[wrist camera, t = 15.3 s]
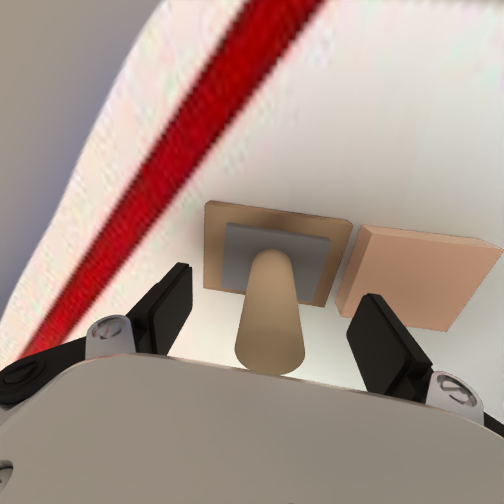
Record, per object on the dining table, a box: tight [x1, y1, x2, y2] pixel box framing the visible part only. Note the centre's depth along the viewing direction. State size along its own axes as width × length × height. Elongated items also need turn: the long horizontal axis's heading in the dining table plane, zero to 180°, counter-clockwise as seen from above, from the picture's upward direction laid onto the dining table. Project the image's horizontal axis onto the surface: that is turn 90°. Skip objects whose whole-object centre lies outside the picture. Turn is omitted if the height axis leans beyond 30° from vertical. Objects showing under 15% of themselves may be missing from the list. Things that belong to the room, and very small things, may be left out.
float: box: [221, 222, 331, 375], centre depth 12 cm, size 7×5×8 cm
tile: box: [335, 225, 504, 332], centre depth 15 cm, size 2×7×8 cm
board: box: [203, 201, 353, 307], centre depth 16 cm, size 10×7×1 cm
